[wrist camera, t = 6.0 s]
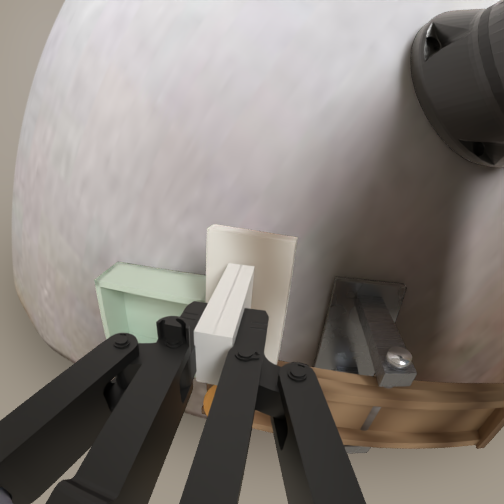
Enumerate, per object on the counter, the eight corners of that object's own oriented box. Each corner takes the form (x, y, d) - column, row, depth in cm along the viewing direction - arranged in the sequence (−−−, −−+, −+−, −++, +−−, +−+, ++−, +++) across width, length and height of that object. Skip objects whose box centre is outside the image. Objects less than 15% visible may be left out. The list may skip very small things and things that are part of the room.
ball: (189, 387, 19) (199, 424, 16) (230, 364, 19) (245, 400, 16) (214, 407, 21) (226, 441, 18) (251, 387, 21) (267, 419, 18)
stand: (310, 375, 30) (311, 459, 20) (335, 276, 26) (356, 357, 15) (368, 378, 29) (385, 457, 19) (404, 284, 25) (451, 358, 15)
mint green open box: (128, 332, 32) (110, 354, 27) (118, 261, 28) (94, 279, 24) (218, 352, 31) (208, 380, 26) (220, 277, 27) (207, 301, 23)
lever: (212, 397, 23) (199, 420, 20) (214, 223, 17) (193, 236, 15) (476, 429, 17) (481, 450, 15) (558, 288, 12) (576, 305, 9)
